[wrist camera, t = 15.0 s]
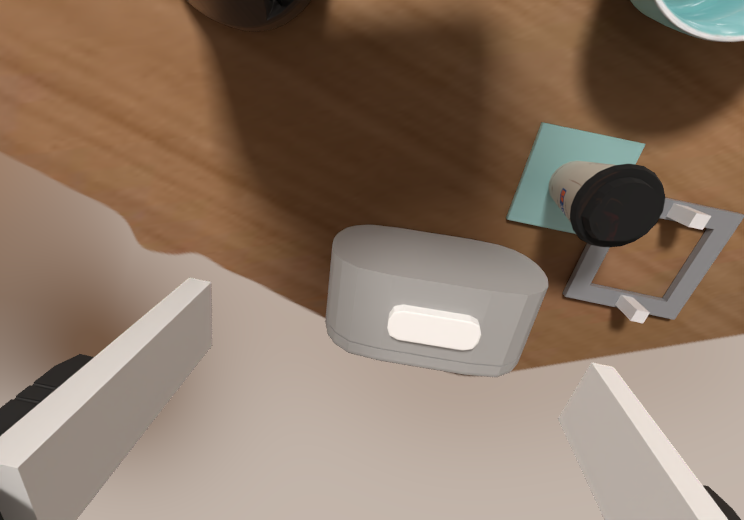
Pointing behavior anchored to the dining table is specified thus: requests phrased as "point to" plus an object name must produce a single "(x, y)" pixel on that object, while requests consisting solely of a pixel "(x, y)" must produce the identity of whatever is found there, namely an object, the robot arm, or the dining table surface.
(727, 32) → the bowl
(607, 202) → the coffee cup
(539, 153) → the coaster
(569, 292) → the collar
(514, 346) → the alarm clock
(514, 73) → the dining table surface
